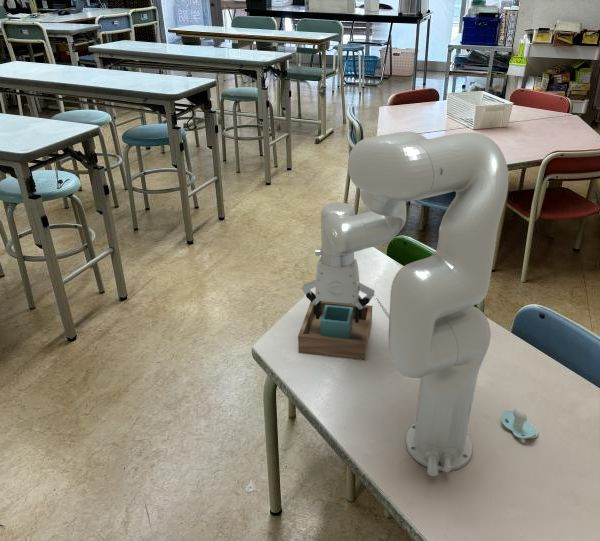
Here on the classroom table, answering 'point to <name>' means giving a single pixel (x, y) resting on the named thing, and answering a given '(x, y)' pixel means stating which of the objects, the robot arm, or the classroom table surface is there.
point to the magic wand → (383, 308)
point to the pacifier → (519, 424)
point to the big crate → (332, 346)
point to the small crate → (336, 321)
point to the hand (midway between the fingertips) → (337, 317)
